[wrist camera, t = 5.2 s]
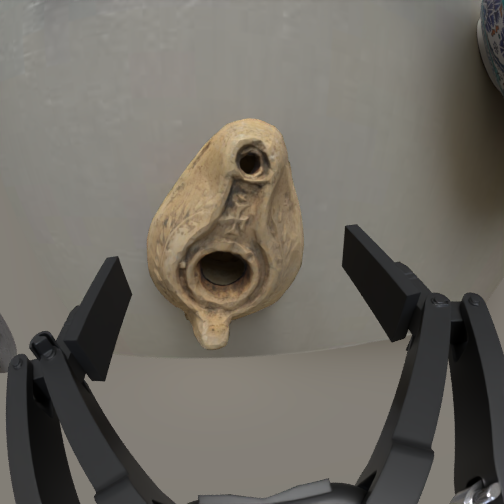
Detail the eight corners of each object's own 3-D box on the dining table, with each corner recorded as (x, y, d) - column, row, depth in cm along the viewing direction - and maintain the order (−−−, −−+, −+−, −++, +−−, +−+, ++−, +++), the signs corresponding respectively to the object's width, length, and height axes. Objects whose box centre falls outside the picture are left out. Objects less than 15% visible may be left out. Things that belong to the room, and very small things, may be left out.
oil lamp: (301, 120, 18) (351, 131, 11) (284, 291, 26) (307, 357, 19) (147, 120, 17) (107, 129, 10) (164, 295, 24) (152, 365, 17)
